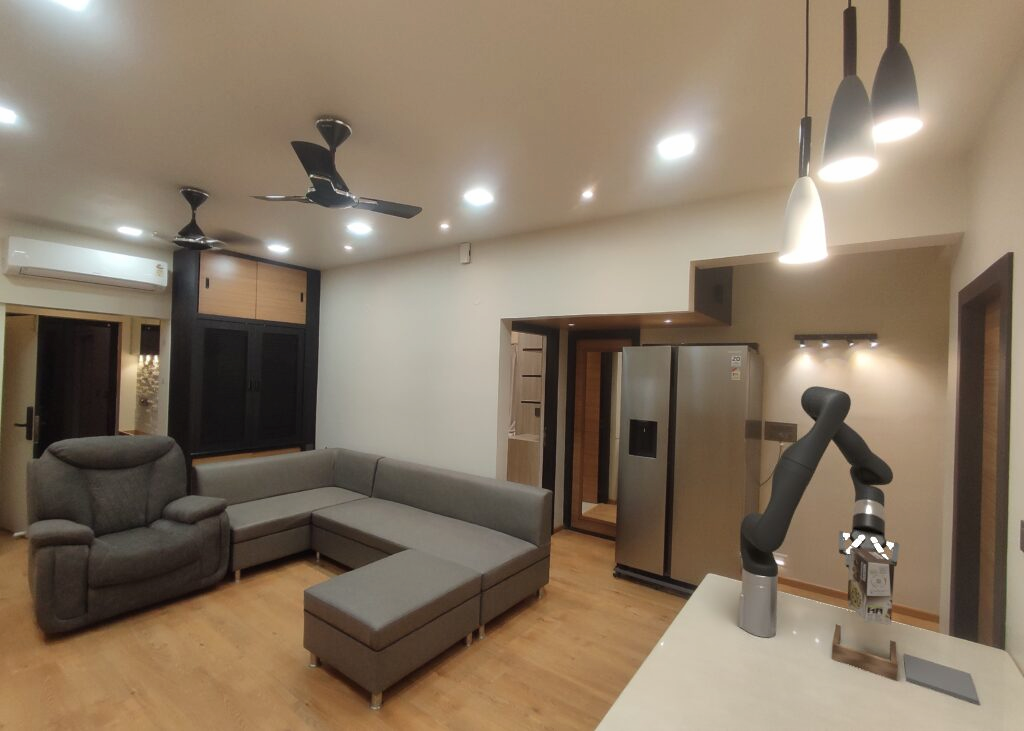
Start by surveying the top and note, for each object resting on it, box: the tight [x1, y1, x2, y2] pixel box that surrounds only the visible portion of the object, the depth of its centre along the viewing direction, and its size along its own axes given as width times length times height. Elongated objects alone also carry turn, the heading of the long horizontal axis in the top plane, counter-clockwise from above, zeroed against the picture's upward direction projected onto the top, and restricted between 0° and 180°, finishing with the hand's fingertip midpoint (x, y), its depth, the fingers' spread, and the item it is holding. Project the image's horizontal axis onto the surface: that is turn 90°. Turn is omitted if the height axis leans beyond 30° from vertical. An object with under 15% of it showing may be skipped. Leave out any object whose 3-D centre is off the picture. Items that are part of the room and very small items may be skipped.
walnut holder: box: [831, 623, 898, 682], centre depth 126 cm, size 13×13×4 cm
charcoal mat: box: [903, 653, 980, 706], centre depth 118 cm, size 13×13×1 cm
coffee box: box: [847, 547, 895, 625], centre depth 126 cm, size 9×6×16 cm
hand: (866, 572), depth 128 cm, fingers closed on coffee box, 6 cm apart
